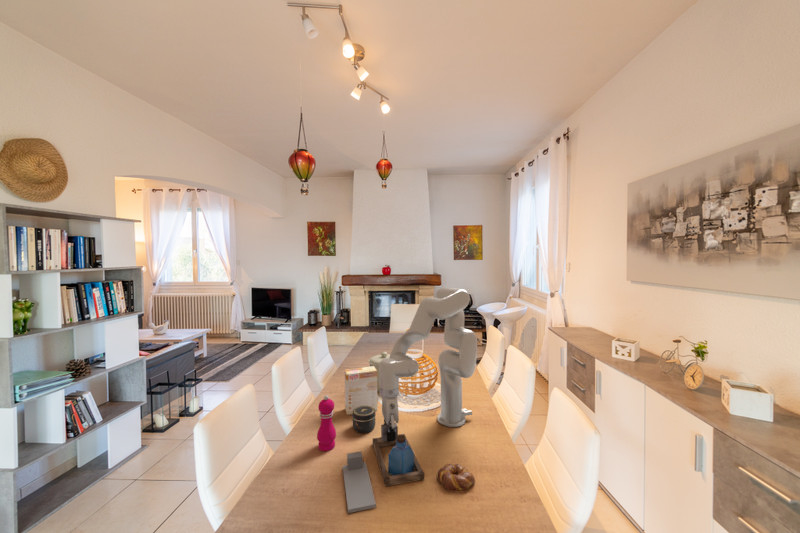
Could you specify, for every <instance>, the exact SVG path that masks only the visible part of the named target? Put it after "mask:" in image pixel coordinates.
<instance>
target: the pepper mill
mask: <svg viewBox="0 0 800 533" xmlns="http://www.w3.org/2000/svg"><path fill="white" fill-rule="evenodd" d="M334 409H335V402H334V401H333V400H332V399H331V398H330V397H329V395H327V394H326V395H324V397H323V399H322V400H320V401H319V403H318V411H319V417H320V425H319V429H318V430H317V434H316V435H317V436H316V439H317V441H318V445H317V446H318V450H320V451H321V452H328V451H332V450H333V449H334V448H335V446H336V440H335V439H336V438H337V431H336V428H335V426H334V423H333V415H334Z"/></svg>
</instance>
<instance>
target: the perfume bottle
mask: <svg viewBox="0 0 800 533" xmlns="http://www.w3.org/2000/svg"><path fill="white" fill-rule="evenodd" d="M405 436H406V434H405V435H399V434H398V435H397V437H396V438H397V439H396V445H393V447H392V449H391V450H390V452H389V454H388V469H387V472H388V475H390V476H394V475H399V474H405V473H410V472H414V471H415V469H414V454H415V452H414V450H413V448H412V447H411V448H412V449H411V448H410V446H411V445H410V446H408V445H406V439H405V438H407V437H405ZM412 450H413V451H412Z"/></svg>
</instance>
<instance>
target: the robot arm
mask: <svg viewBox="0 0 800 533" xmlns="http://www.w3.org/2000/svg"><path fill="white" fill-rule="evenodd" d="M470 301H471V296H470V294H469V292H468V291H467V290H465V289H463V288H455V287H445V286H444V287H439V288H438V289H437V290H436V293H435V297H431V296H430V297H429V296H428V297H423V299H422V300H421V301H420V303H419V305H418V307H417V310H416V312H415V315H414V317H413V319H412V322H411V323H410V326H409V327H408V329H407V330H406V331H405V332H404V333H403V334H402V335H401V336H399V338H397V340H396V341H395V343H394V345H393V347H392V350H391V352H390V357H389V358H386V359H383V360H381V361H380V366H379V368H380V392H379V397H380V398H381V413H382V417H383V424H387V427H388V431H387V442H390V441H395V423H396V424H399V423H400V421H399V420H400V419H399V402H398V397H399V395H400V393H399V392H400V388H399V383H400V380H399V379H400V378H409V377H410V378H411V377H413V376H415V375H416V374H418V372H419V368H420V366H419V365H420V364H419V363H418V361H417V359H415V358H414V357H411V356H408V355H407V354H408V350H409V349H410V348H411V346H413V345H414V344H415V343H417V342H420V341H422V340H425V339H427V338H428V337H429V335H430V332H431V330H432V329H433V328H432V327H433V325H434V323H435V320H436V319H437V320H441V321H444V320H445V322H444V333H443V342H444V344H445V345H446V346H448V347H450V348H453V349H456V350H453V349H448V348H447V349H444V350H442V351H441V352H440V354H439V355H438V359H437V362H438V368H439V376H440V412H439V413H438V414H437V417H436V418H437V422H438V423H439V424H441V425H442V426H444V427H449V428H459V427H461V426H463V425H465V423H466V416H472V415H473V411H472V410H471V409H470V410H468V409H467V408H463V380H462V378H463V379H469V378H471V377H472V376H473V375H474V374H475V371H476V367H477V366H476V365H477V355H478V338H477V335H476V333H475V332H474V331H473V330H471V329H468V328H465V318H466V317H465V312H464V310H465V309H466V308H467V307H468V305H469V304H470ZM389 425H391V427H390V428H389Z"/></svg>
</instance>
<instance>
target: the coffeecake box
mask: <svg viewBox="0 0 800 533" xmlns="http://www.w3.org/2000/svg"><path fill="white" fill-rule="evenodd" d="M359 406H371V407H373V408H374V409H375V411H378V392H377V370H376V369H375V367H374V366H371V367H370V366H365V367H355V368H349V369H348V368H347V369H344V409H345V413H346V415H347V416H349V415H352V413H353V410H354V409H355V408H356V407H359Z"/></svg>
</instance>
